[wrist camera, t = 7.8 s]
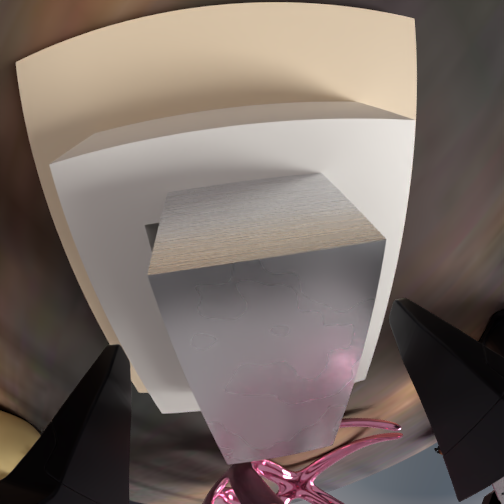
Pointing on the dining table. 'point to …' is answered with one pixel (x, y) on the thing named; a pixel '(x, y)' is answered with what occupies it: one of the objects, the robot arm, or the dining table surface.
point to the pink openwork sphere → (291, 473)
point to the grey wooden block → (267, 307)
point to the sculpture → (14, 441)
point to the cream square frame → (213, 141)
